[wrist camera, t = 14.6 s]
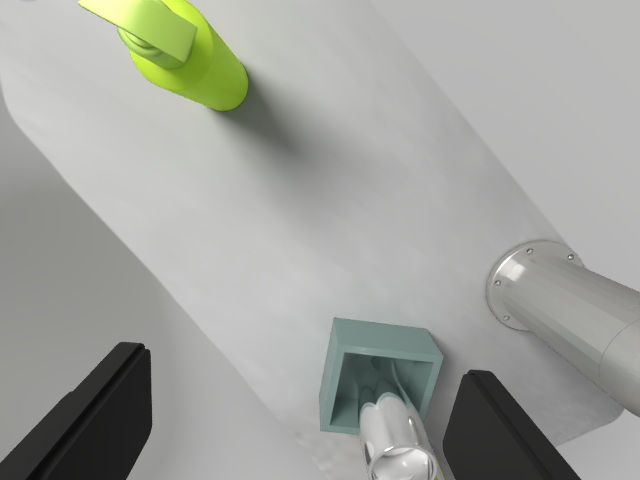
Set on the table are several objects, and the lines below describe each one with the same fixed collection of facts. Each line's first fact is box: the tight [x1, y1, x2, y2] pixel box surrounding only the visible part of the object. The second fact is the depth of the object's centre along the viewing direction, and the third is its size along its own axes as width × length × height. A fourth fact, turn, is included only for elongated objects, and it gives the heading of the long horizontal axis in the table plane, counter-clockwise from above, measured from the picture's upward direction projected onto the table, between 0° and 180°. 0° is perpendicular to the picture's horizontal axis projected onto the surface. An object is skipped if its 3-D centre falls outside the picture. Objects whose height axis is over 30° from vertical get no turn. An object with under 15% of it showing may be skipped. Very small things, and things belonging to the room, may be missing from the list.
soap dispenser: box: [78, 0, 248, 111], centre depth 25 cm, size 6×7×20 cm
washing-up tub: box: [319, 318, 444, 435], centre depth 42 cm, size 13×13×6 cm
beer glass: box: [351, 354, 437, 480], centre depth 37 cm, size 7×7×15 cm
